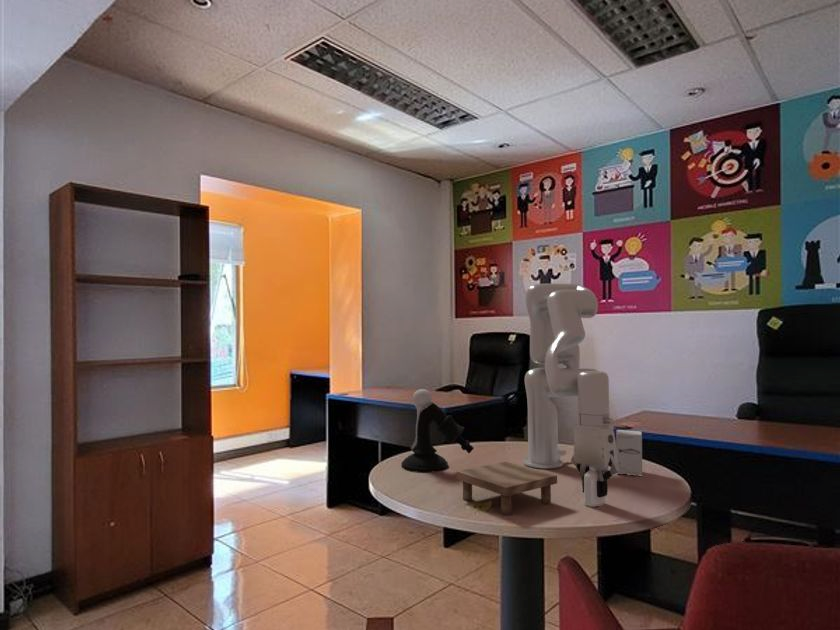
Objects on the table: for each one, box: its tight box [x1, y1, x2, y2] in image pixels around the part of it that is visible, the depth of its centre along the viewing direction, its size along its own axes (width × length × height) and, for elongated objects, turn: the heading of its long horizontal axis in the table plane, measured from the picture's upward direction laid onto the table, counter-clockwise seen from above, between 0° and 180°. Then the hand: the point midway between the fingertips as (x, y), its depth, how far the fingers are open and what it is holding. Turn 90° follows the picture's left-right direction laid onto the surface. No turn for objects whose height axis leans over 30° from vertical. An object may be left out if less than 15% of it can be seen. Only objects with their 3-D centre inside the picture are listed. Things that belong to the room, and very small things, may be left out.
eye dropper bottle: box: [583, 466, 606, 508], centre depth 129 cm, size 4×6×12 cm
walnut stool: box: [456, 461, 558, 517], centre depth 132 cm, size 18×18×7 cm
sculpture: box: [401, 388, 475, 473], centre depth 168 cm, size 15×24×25 cm, turn 76°
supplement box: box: [615, 429, 643, 476], centre depth 159 cm, size 7×7×13 cm
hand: (594, 493), depth 129 cm, fingers closed on eye dropper bottle, 3 cm apart
